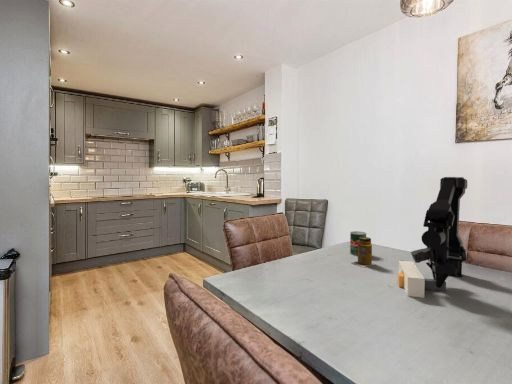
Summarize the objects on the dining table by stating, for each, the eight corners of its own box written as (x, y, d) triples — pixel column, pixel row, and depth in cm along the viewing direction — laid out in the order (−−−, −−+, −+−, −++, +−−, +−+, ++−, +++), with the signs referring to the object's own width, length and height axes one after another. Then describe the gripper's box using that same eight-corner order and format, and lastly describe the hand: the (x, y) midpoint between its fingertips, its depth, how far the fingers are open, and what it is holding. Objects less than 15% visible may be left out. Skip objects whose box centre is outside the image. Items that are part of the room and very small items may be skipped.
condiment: (375, 264, 133) (376, 238, 133) (364, 267, 129) (364, 240, 128) (362, 260, 139) (362, 235, 139) (350, 263, 135) (350, 238, 134)
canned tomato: (366, 252, 154) (366, 231, 153) (365, 256, 147) (365, 234, 146) (350, 251, 157) (351, 230, 156) (349, 254, 150) (349, 233, 149)
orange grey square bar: (443, 287, 105) (443, 276, 105) (446, 291, 101) (446, 280, 101) (397, 283, 109) (397, 272, 109) (399, 287, 106) (399, 276, 105)
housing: (412, 277, 115) (412, 261, 115) (424, 297, 96) (424, 278, 96) (398, 276, 117) (399, 260, 116) (407, 295, 98) (407, 277, 97)
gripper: (408, 236, 114) (407, 275, 115) (418, 247, 96) (418, 293, 97) (440, 237, 111) (440, 278, 111) (458, 249, 93) (456, 297, 94)
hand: (437, 286), depth 104 cm, fingers closed on orange grey square bar, 2 cm apart
